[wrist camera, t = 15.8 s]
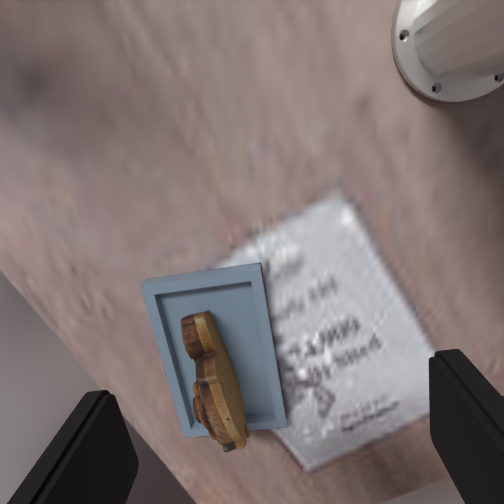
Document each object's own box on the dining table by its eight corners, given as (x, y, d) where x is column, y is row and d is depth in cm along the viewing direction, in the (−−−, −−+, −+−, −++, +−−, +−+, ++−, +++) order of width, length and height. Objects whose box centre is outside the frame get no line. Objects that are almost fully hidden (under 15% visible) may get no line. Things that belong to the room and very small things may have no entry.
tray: (260, 262, 38) (260, 269, 36) (286, 414, 45) (287, 427, 43) (146, 279, 39) (140, 286, 38) (187, 425, 46) (183, 438, 44)
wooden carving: (174, 305, 40) (146, 357, 30) (210, 292, 39) (193, 341, 30) (229, 414, 44) (220, 488, 35) (263, 404, 44) (262, 477, 34)
